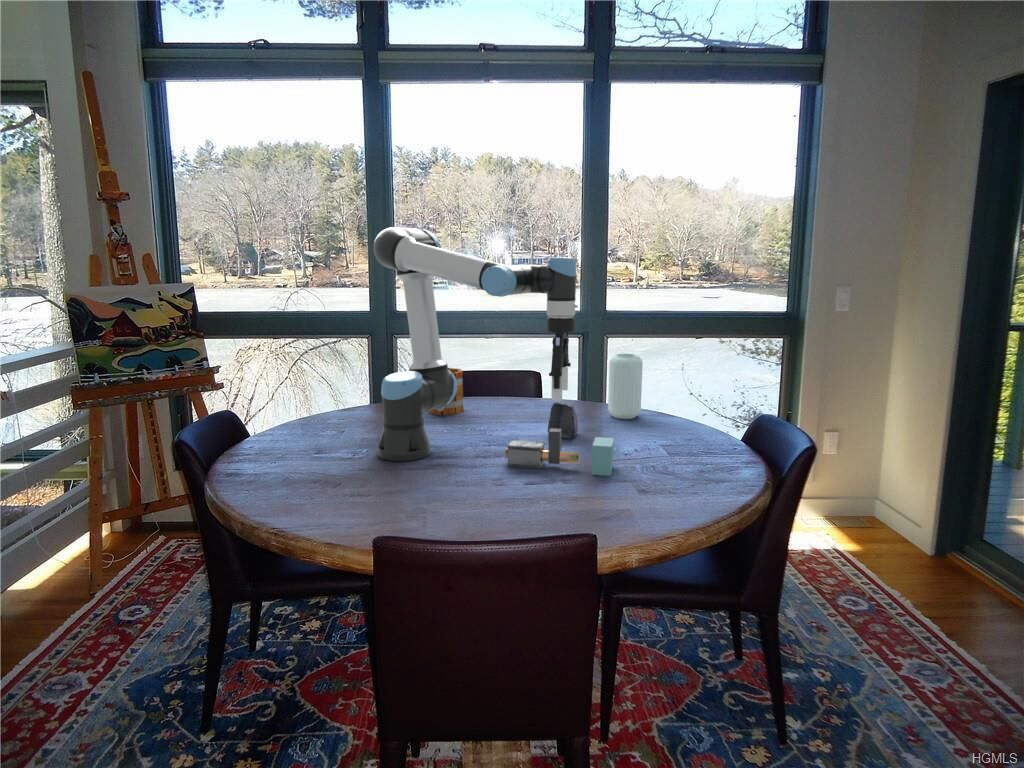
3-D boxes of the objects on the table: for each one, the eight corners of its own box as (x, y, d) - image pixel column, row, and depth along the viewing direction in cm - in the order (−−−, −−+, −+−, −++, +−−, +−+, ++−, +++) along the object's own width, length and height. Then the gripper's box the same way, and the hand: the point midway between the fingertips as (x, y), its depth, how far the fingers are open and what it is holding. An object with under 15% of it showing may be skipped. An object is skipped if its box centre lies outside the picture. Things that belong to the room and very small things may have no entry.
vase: (616, 411, 241) (618, 351, 237) (645, 415, 234) (648, 354, 230) (602, 417, 232) (603, 355, 228) (631, 422, 225) (634, 358, 221)
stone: (568, 446, 203) (540, 433, 207) (577, 443, 212) (550, 431, 216) (582, 411, 202) (554, 398, 205) (590, 410, 211) (563, 398, 214)
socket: (591, 474, 172) (592, 445, 170) (594, 465, 180) (595, 437, 178) (610, 475, 171) (611, 446, 169) (612, 466, 179) (613, 438, 177)
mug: (432, 406, 249) (431, 367, 246) (467, 407, 247) (466, 368, 244) (419, 418, 230) (418, 377, 227) (457, 419, 228) (456, 377, 225)
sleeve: (507, 467, 178) (507, 445, 177) (512, 460, 184) (512, 439, 182) (540, 469, 176) (540, 448, 175) (543, 462, 182) (544, 441, 181)
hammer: (505, 460, 179) (505, 428, 177) (507, 456, 182) (507, 425, 180) (577, 465, 175) (578, 433, 173) (579, 461, 178) (579, 430, 176)
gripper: (570, 321, 160) (568, 406, 164) (579, 312, 184) (577, 386, 188) (540, 321, 161) (539, 404, 165) (553, 312, 185) (552, 385, 189)
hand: (559, 395), depth 176 cm, fingers open, 13 cm apart
